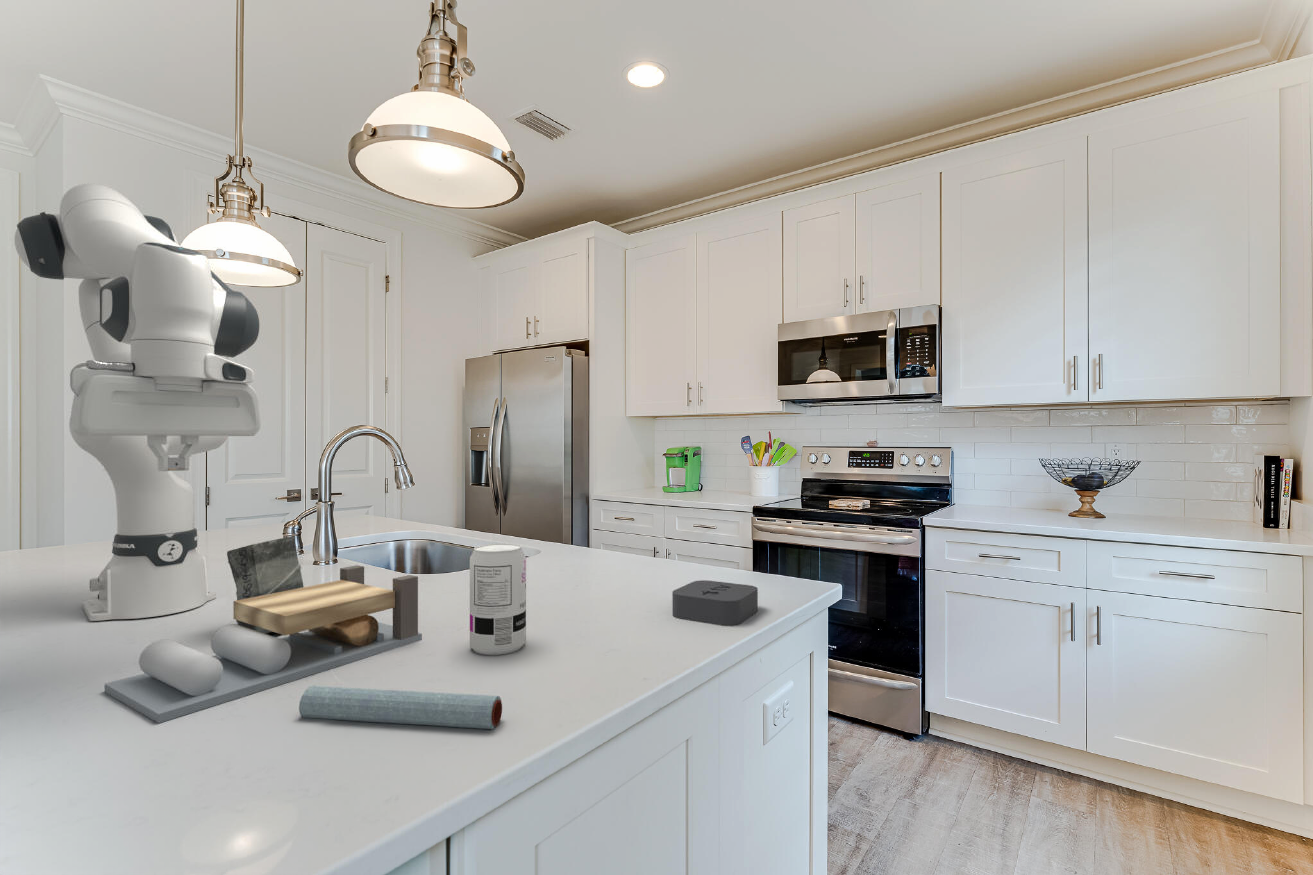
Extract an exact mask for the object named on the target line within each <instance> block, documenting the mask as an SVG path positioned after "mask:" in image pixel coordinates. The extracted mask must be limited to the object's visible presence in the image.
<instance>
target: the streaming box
mask: <svg viewBox="0 0 1313 875" xmlns="http://www.w3.org/2000/svg"><path fill="white" fill-rule="evenodd" d="M758 591H759V589H758V587H757V586H754V585H751V584H742V583H741V584H740V583H732V582H723V581H716V580H709V579H708V580H707V579H706V580H703V579H702V580H695V581H691V582H690V583H686V584H685V585H684V586H680V587H679V588H678V587H677V588H676V589H674V590H672V591H671V592H672V601H671V602H672V604H671V605H672V617H673V618H675V619H677V620H678V619H679V620H684V621H689V622H690V621H691V622H696V623H703V624H708V625H709V624H710V625H715V626H721V627H735V626H739V625H742V624H743V623H745V622H746V621H748V619H750V618H751V617H753V616H754V615H755V614H757V613H758V611H759V609H758V607H759V604H758V601H759V599H758V598H759V596H758V593H759V592H758Z"/></svg>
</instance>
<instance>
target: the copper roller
mask: <svg viewBox="0 0 1313 875" xmlns="http://www.w3.org/2000/svg"><path fill="white" fill-rule="evenodd" d="M378 622H379V621H378V620H377V618H375V617H374V616H372V615H371V614H368V615H364V616H360V617H356V618H352V619H348V620H344V621H340V622H336V623H333V624H329V625H325V626H321V627H317V628H313V629H309V630H308V631H310V632H312V633H316V634H319V635H322V636H326V637H329V638H332V639H336V640H339V641H343V642H346V643H349V644H353V645H356V646H360V647H363V646H366V645H368V644H370V643H371V642H372V641H373V640H374V639H375V638H376V636H377V633H378V629H379V625H378Z"/></svg>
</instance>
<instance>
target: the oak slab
mask: <svg viewBox="0 0 1313 875" xmlns="http://www.w3.org/2000/svg"><path fill="white" fill-rule="evenodd" d="M232 608H233V613H232V614H233V620H235V621H236V620H239V621H242V622H245V623H248V624H251V625H254V626H257V627H260V628H264V629H267V630H270V631H272V632H273V633H276V634H279V635H282V636H289V634H293V633H297V632H298V633H302V632H306V631H309V629H313V628H317V627H321V626H325V625H329V624H333V623H336V622H340V621H344V620H348V619H352V618H356V617H360V616H364V615H372V614H375V613H379V612H383V611H387V610H390V609H393V608H395V591H393V589H388V588H383V587H378V586H373V585H368V584H365V583H364V584H359V583H355V582H350V581H345V580H340V579H338V580H334V581H329V582H325V583H319V584H314V585H308V586H303V588H298V589H293V590H288V591H283V592H278V593H272V594H267V595H262V596H257V597H252V598H247V599H242V600H237V599H236V600H234V601H233V606H232Z"/></svg>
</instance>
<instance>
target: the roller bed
mask: <svg viewBox="0 0 1313 875" xmlns="http://www.w3.org/2000/svg"><path fill="white" fill-rule="evenodd" d="M339 580H345V581H350V582H355V583H359V584H364V585H365V566H363V565H358V564H357V565H353V566H352V565H351V566H345V567H341V568H339ZM392 590H393V591H395V608H392V625H391V624H386V623H383V622H379V621H377V622H378V625H379V629H378V633H377V636H376V638H375V639H374V640H373V641H372V642H371V643H370V644H368V645H366V646H363V647H360V646H356V645H353V644H349V643H346V642H343V641H339V640H336V639H332V638H329V637H326V636H322V635H319V634H316V633H312V632H310V631H309V630H307V631H303V632H297V633H293V634H289V635H287V636H285V637H282V638H279V637H276V636H273V635H270V634H268V633H266V634H264V633H261V632H258V631H255V630H252V629H249V628H246V627H243V626H240V625H238V624H237V623H232V624H226V625H224V626H222V627H221V628H219V629H218V630H217V631H216V632H215V633H214V635H213V636H212V639H211V641H210V648H211V651H212V652H213V654H214V655H209V654H206V653H204V652H201V651H199V650H197V649H193V648H192V647H189V646H187V645H183V644H181V643H178V642H176V641H174V640H171V639H159V640H155V641H154V642H152V643H150V644H149V645H147V646H146V647H145V648H144V649H143V650H142V652H141V653H140V656H139V657H138V658H139V659H138V666H139V668H140V671H141V672H143V673H142V674H137V675H134V676H130V677H127V678H122V679H118V680H114V681H110V682H107V683H104V692H105V693H106V695H107V694H108V695H109V696H111V697H113V698H114V699H116V700H118V701H120V702H121V703H123V704H124V705H126V706H128V707H130V708H132V709H133V710H135V711H136V712H138V713H140V714H142V715H143V716H146V717H147V718H149V719H151V720H152V721H154V722H156V723H158V724H160V723H164V722H167V721H170V720H174V719H178V718H179V717H183V716H186V715H189V714H192V713H195V712H199V711H202V710H205V709H209V708H212V707H215V706H216V705H221V704H224V703H227V702H231V701H234V700H237V699H240V698H243V697H246V696H249V695H252V694H255V693H258V692H259V693H260V692H262V691H265V690H269V689H272V688H275V687H278V686H281V685H284V684H287V683H290V682H294V681H297V680H300V679H302V678H306V677H309V676H313V675H316V674H319V673H322V672H325V671H329V670H331V669H335V668H337V667H340V666H344V665H347V664H350V663H351V664H352V663H353V662H357V661H360V660H363V659H366V658H369V657H373V656H375V655H378V654H382V653H384V652H385V653H386V652H388V651H389V652H390V651H392V650H393V649H398V648H400V647H403V646H406V645H410V644H412V643H416V642H419V641H422V639H423V634H422V633H421V632H419V577H418V576H417V575H411V574H408V575H407V574H406V575H404V576H398V577H394V578H392Z"/></svg>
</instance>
